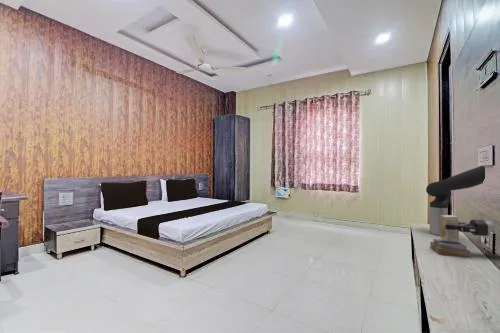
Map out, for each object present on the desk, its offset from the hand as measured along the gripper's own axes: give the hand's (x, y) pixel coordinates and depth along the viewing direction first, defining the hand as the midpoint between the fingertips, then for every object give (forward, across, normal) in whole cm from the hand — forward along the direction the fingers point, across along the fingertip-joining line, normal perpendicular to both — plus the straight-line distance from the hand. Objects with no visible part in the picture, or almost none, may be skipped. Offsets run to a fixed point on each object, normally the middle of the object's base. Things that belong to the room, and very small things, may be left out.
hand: (443, 225), depth 125 cm
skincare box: (-3, 0, +7) cm, 8 cm away
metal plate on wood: (-2, 0, +13) cm, 13 cm away
